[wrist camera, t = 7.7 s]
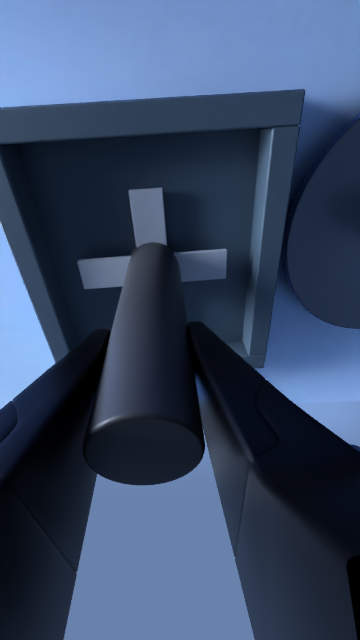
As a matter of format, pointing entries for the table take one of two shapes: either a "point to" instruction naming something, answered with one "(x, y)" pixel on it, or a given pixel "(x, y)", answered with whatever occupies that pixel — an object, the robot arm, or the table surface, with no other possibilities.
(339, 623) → the robot arm
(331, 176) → the lid
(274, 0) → the table surface
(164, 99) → the tray
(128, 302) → the post with cross base
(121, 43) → the table surface
